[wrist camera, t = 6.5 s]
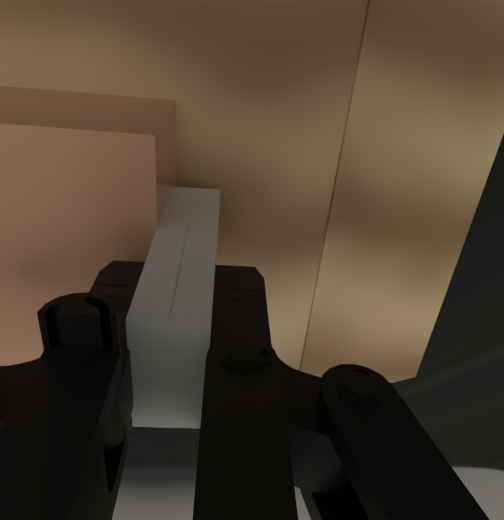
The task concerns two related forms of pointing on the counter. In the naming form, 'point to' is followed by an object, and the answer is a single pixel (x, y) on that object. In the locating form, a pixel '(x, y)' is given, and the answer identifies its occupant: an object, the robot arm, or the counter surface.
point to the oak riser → (306, 143)
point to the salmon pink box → (74, 197)
